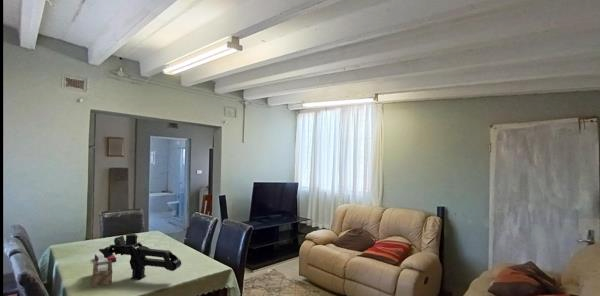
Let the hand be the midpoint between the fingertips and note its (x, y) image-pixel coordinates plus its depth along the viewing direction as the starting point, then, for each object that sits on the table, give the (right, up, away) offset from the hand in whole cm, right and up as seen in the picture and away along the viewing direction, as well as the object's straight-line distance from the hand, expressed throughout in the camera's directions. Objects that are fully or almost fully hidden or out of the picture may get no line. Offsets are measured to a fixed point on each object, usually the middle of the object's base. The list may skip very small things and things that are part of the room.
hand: (104, 247), depth 213 cm
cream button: (+7, -10, -14) cm, 19 cm away
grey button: (+2, -10, -5) cm, 11 cm away
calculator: (-14, -17, +24) cm, 33 cm away
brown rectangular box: (+4, -17, -10) cm, 20 cm away
